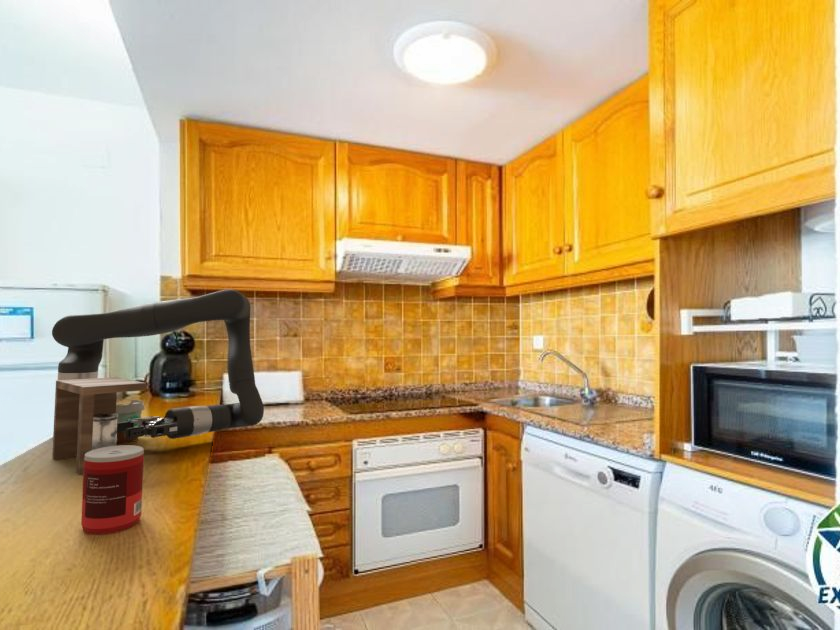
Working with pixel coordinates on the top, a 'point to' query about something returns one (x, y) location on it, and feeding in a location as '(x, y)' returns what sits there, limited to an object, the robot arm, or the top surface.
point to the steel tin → (104, 430)
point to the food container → (128, 417)
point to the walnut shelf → (83, 412)
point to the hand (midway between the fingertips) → (118, 430)
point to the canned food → (112, 488)
